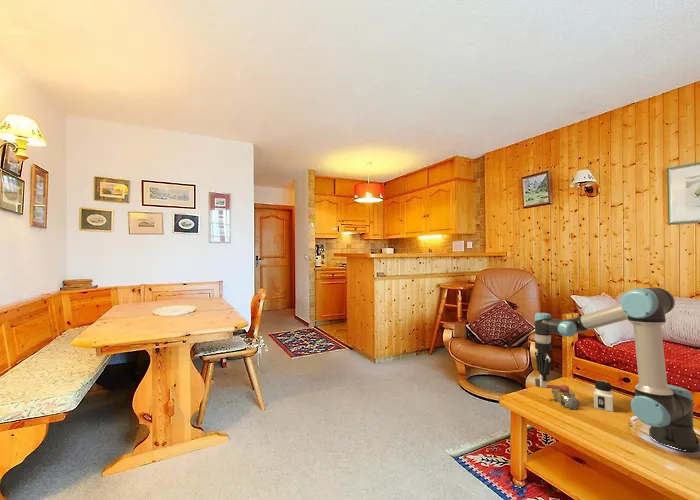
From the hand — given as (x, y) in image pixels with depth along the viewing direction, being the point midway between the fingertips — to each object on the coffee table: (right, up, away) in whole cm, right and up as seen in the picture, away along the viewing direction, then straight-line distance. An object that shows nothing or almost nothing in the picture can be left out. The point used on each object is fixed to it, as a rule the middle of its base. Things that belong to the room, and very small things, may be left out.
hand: (543, 386), depth 176 cm
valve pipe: (+11, -8, -1) cm, 13 cm away
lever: (+5, -1, 0) cm, 5 cm away
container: (+27, -8, -7) cm, 29 cm away
